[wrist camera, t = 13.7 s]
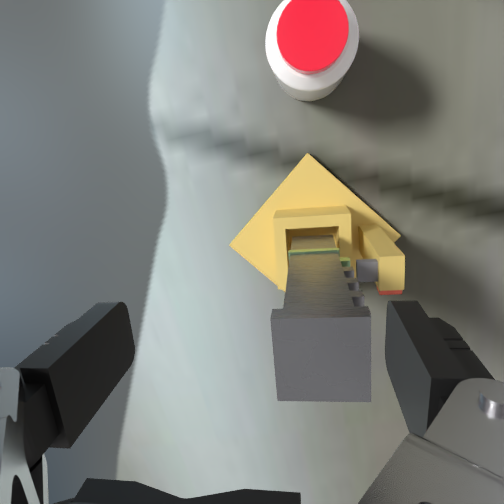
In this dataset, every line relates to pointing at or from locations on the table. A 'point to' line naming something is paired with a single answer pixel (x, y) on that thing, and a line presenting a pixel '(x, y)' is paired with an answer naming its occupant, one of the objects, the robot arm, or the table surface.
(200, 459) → the table surface
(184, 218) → the table surface
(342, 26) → the pill bottle
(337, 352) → the column
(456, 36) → the table surface
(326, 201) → the stand base
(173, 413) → the table surface
